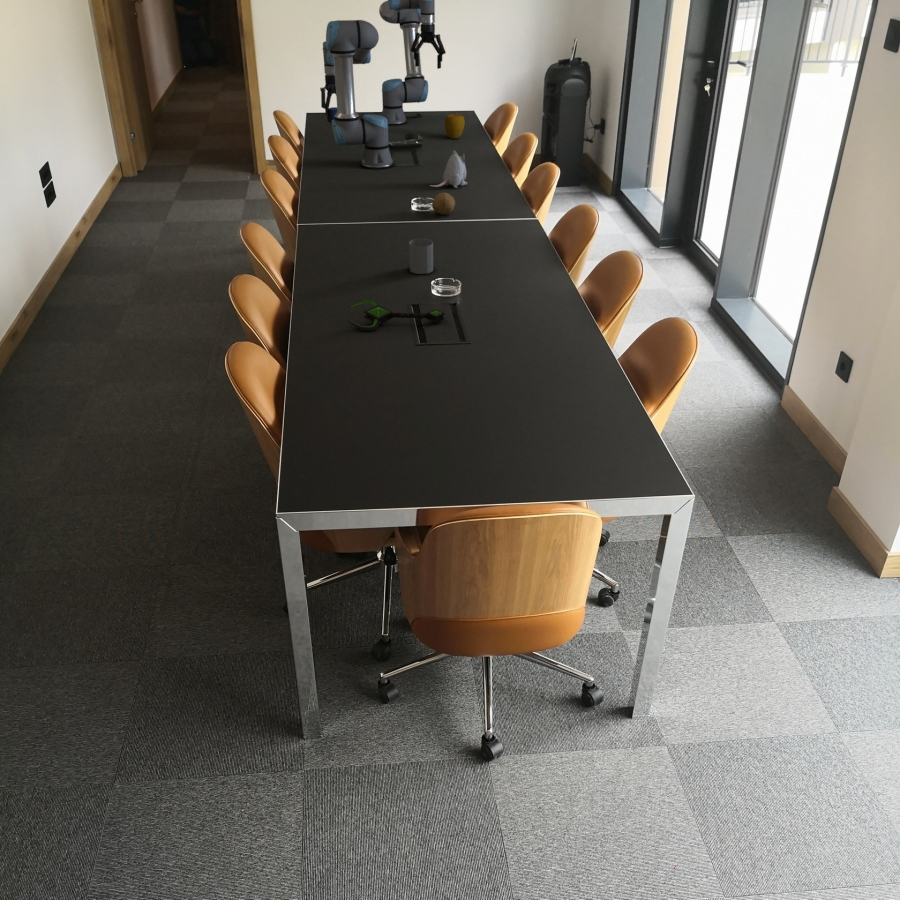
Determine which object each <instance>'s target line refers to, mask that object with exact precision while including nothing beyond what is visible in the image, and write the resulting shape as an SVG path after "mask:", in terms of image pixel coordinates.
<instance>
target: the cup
mask: <svg viewBox="0 0 900 900" xmlns="http://www.w3.org/2000/svg"><path fill="white" fill-rule="evenodd" d="M408 253H409V272H411V273H412V274H416V275H426V274H430V273H432V272H434V241H433V240H431V239H428V238H422V237H421V238H420V237H419V238H414V239H411V240H410V241H409V242H408Z"/></svg>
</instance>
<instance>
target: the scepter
mask: <svg viewBox="0 0 900 900" xmlns="http://www.w3.org/2000/svg"><path fill="white" fill-rule="evenodd" d="M362 304H371V305H373V306H372V307H371V308H367V309H366V310H364V311H363V313H364V314H365V315H364V316H363V318H364V319H366V320H368V321H369V322H372V323H373V324H372V325H369V326H367V325H360V324H358V323H356V322H353V321H350V320H349V321H348V324H350V325H351V326H353V327H354V328H356V329H359V330H361V331H375V330H377V329H378V327H379V326H380V325H382V324H383V323H385V322H388V321H389V320H390V321H391V319H394V318H396V319H397V318H398V319H399V318H400V319H426V320H428V321H431V322H433V323H434V324H436V323H439V322H441V321H444V320H445V319H446V318H445V317H444V315H446V313H445V312H443V311H441V310H438V309H434V310H433V309H432V310H431V311H429V312H426V313H425V312H420V313H419V312H393V311H392V310H390V309H388V308H385V307H384V306H382V305H380V304H379V302H378V301H377V300H376V299H369V298H368V299H360V300H358V301H355V303H352V304H351V305H349V306H348V307H349V308H353V307H356V306H359V305H362Z"/></svg>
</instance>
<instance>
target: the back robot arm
mask: <svg viewBox="0 0 900 900" xmlns="http://www.w3.org/2000/svg"><path fill="white" fill-rule="evenodd" d="M435 1H436V0H385V1H384V2H382V3H381V4H380V6H379V8H378V9H379V11H378V13H379V16H380V18H381V19H382V20H383V21H384V22H386V23H388V24H395V25H399V29H400V30H401V31H402V36H403V48H404V60H405V71H406V75H405V77H404V78H403V79H404V81H403V79H402V78H390V79H386V80H385V81H383V82H382V84H381V99H382V100H381V101H382V111H381V114H379V115H380V116H383V117H385V118H386V119H387V122H388V126H400V125H405V124H407V119H415V118H420V117H421V116H422V114H421V113H419V112H417V115H409V116H408V115H406V114H405V111H404V104H414V103H417V104H419V103H424V102H426V101H427V99H428V97H429V96H428V95H429V81H428V79H427V80H426V78H425V76H424V75H423V74H422V64H421V51H420V49H421V48H422V46H423V45H424V44H430V45H432V47H433V49H434V50H435V51H436V53H437V55H436V66H437V67H436V68H437V70H440V69H442V62H443V55H446V53H447V52H446V49H445V47H444V44H443V41H442V39H441V34H440V33H439V34H435V33H436V24H435V23H436V16H435V15H436V14H435V12H436V10H435V9H436V8H435V7H436V2H435ZM419 28H420V32H419ZM418 113H419V114H418ZM419 115H420V116H419Z"/></svg>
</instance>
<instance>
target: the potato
mask: <svg viewBox="0 0 900 900" xmlns="http://www.w3.org/2000/svg"><path fill="white" fill-rule="evenodd" d="M455 206H456V200H455V198H454V196H452V195H451V194H449V193H448V192H439V193H437V194H436V195H435V197H434V198H433V200H432V201H431V207H432V209H433V210H434V212H436V213H437V214H439V215H441V216H442V215H449V214H450V213H452V212H453V211H454V209H455Z"/></svg>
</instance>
